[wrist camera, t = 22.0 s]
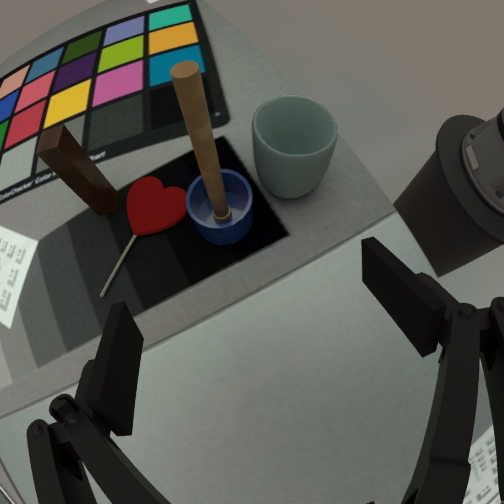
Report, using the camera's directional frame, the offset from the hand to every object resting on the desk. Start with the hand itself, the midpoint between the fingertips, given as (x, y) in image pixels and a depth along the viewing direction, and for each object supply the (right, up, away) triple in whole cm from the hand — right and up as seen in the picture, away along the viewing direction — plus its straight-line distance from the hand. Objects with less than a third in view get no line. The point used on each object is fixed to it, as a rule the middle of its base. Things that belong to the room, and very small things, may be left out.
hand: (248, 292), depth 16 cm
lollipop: (-13, +3, +18) cm, 22 cm away
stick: (-3, +6, +17) cm, 19 cm away
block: (-17, +8, +19) cm, 27 cm away
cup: (+4, +11, +20) cm, 23 cm away
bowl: (-3, +6, +18) cm, 19 cm away
